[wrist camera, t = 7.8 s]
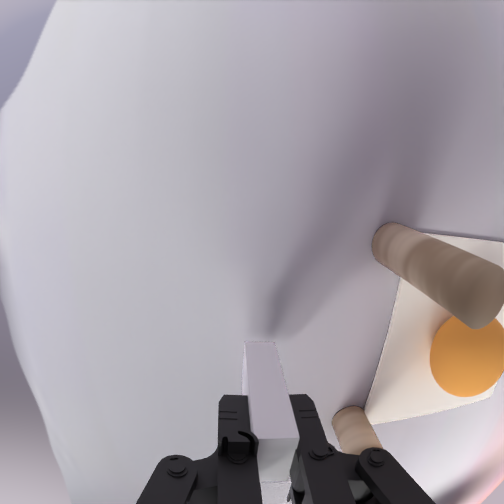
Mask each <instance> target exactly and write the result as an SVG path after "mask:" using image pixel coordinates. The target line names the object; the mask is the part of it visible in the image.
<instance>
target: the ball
mask: <svg viewBox="0 0 504 504" xmlns="http://www.w3.org/2000/svg"><path fill="white" fill-rule="evenodd" d="M429 360H430V368H431V372H432V375H433V377H434V379H435V381H436V382H437V384H438V385H439V386H440V387H441V388H442V389H443V390H444V391H446V392H447V393H449V394H452V395H454V396H458V397H472V396H476V395H479V394H481V393H483V392H485V391H486V390H488V389H489V388H490V387H492V386H493V385H494V384H495V383H496V382H497V381H498V379H499V378H500V376H501V375H502V373H503V371H504V328H503V326H502V325H501V324H500V322H499V321H498V320H497V319H496V318H495V319H494V320H493V321H492V322H491V323H489V324H488V325H487V326H485V327H483V328H480V329H471V328H469V327H468V326H467V325H465V324H464V323H463V322H462V321H460V320H459V319H458V318H456V317H455V316H453V317H451V318H450V319H448V320H447V321H446V322H445V323H444V324H443V325H442V326H441V327H440V329H439V330H438V332H437V333H436V335H435V337H434V339H433V342H432V345H431V349H430V359H429Z"/></svg>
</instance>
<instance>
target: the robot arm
mask: <svg viewBox="0 0 504 504" xmlns="http://www.w3.org/2000/svg"><path fill="white" fill-rule="evenodd" d="M241 385H242V395H223V397H222V398H221V400H220V401H219V415H218V446H217V449H216V451H215V452H214V453H213V454H212V455H211V456H209V457H207V458H204V459H201V460H195V461H192V460H191V459H190V458H188V457H185V456H182V455H171V456H167V457H165V458H163V459H162V460H161V461H160V462H159V463H158V465H157V466H156V468H155V470H154V472H153V474H152V476H151V477H150V479H149V481H148V483H147V485H146V486H145V488H144V490H143V492H142V494H141V496H140V497H139V499H138V501H137V503H136V504H262V496H261V487H260V482H282V481H288V479H289V476H290V477H291V482H292V484H291V487H290V490H289V493H288V496H287V502H289V501H290V499H291V501H292V504H436V503H435V502H434V501H433V500H432V499H431V498H430V497H429V496H428V495H427V494H426V493H425V492H424V490H423V489H422V488H421V487H420V486H419V485H418V484H417V483H416V482H415V481H414V479H413V478H412V477H411V476H410V475H409V474H408V473H407V472H406V471H405V470H404V468H403V467H402V466H401V465H400V464H399V463H398V462H397V461H396V459H395V458H394V457H393V456H392V455H391V454H390V453H389V452H388V451H386V450H384V449H382V448H378V447H371V448H367V449H365V450H363V451H362V452H361V454H360V455H355V454H346V453H342V452H339V451H337V450H336V449H335V447H334V446H332V445H331V444H330V443H328V441H327V439H326V436H325V433H324V430H323V427H322V425H321V422H320V419H319V416H318V413H317V411H316V407H315V404H314V402H313V400H312V399H311V398H310V397H309V396H308V395H307V394H295V395H289V394H288V390H287V386H286V382H285V379H284V375H283V371H282V367H281V363H280V359H279V355H278V352H277V348H276V344H275V342H253V341H245V344H244V358H243V371H242V384H241Z"/></svg>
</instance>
